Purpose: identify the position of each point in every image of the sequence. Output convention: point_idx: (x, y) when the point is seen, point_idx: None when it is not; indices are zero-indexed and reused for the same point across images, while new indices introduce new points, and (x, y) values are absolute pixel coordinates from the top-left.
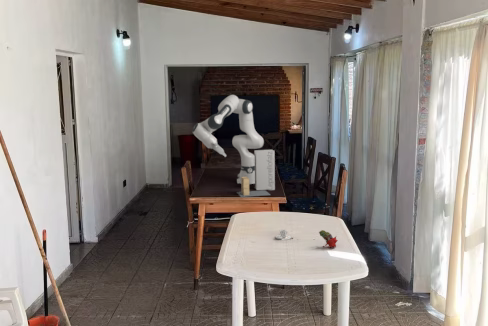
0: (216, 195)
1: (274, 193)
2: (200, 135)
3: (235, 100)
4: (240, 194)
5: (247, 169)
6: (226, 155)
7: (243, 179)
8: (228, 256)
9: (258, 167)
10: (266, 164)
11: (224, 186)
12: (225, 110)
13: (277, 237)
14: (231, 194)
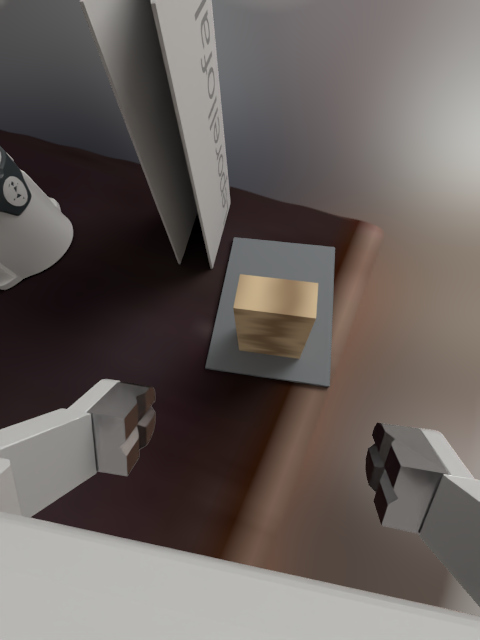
0: (210, 510)
1: (295, 224)
2: None
3: None
4: (270, 367)
5: (2, 197)
6: (438, 441)
7: (308, 319)
8: None
9: (194, 156)
10: (205, 101)
11: (18, 373)
12: None
13: None
14: (227, 407)
